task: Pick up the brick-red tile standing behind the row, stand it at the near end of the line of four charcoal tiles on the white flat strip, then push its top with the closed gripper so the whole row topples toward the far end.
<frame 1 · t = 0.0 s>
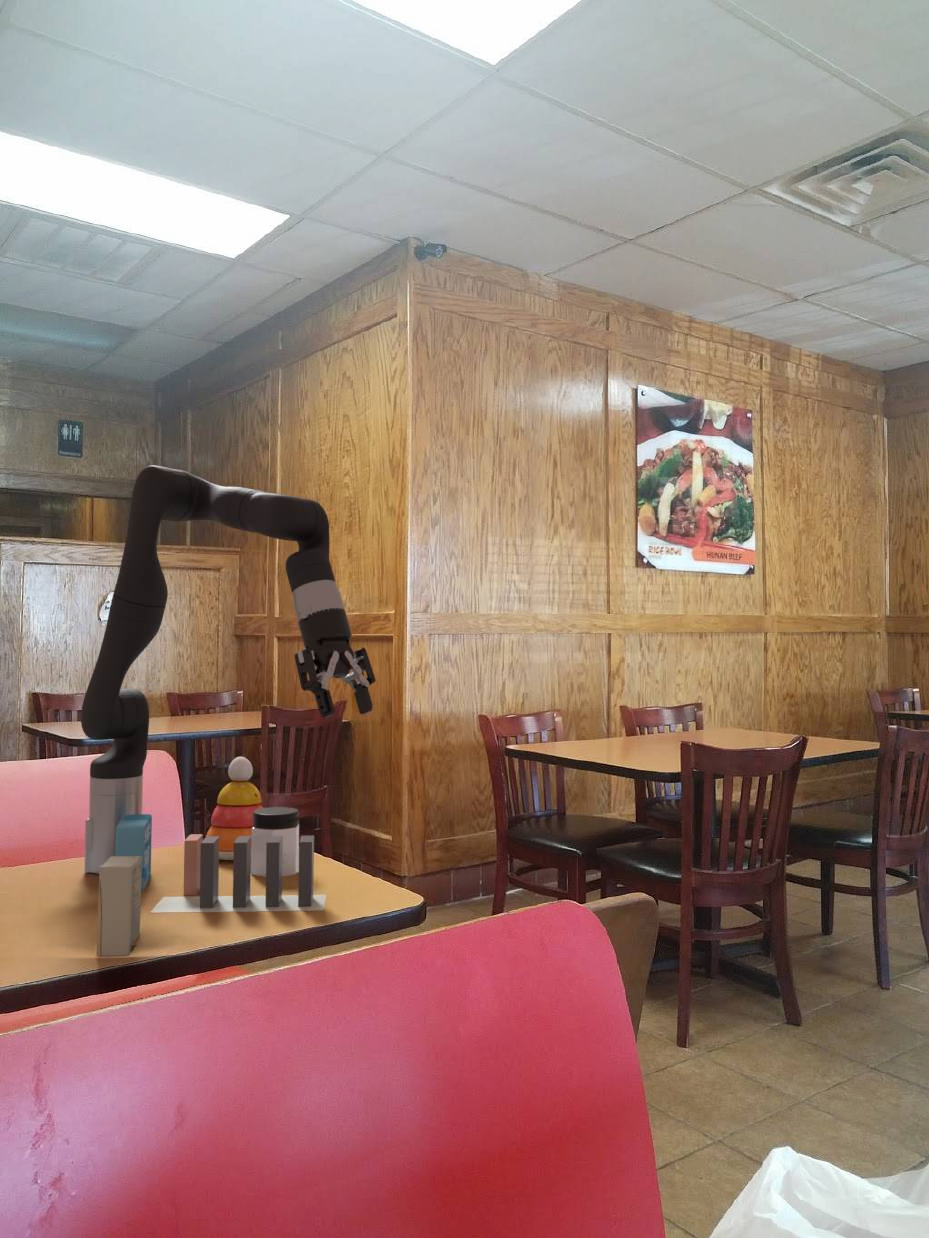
hand: (348, 714, 146), 31 cm above the table, tool tilted 20°, fingers open, 8 cm apart
brick tile: (192, 898, 158), on the table
white flat strip: (241, 910, 151), on the table
skincare box: (119, 951, 132), on the table
tile c: (241, 903, 151), point 1 cm above the table, touching white flat strip
tile b: (209, 903, 151), point 1 cm above the table, touching white flat strip
stacking toy: (238, 857, 189), on the table
tile d: (273, 902, 152), point 1 cm above the table, touching white flat strip
jar: (274, 879, 172), on the table
tile e: (305, 902, 152), point 1 cm above the table, touching white flat strip
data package: (133, 891, 163), on the table
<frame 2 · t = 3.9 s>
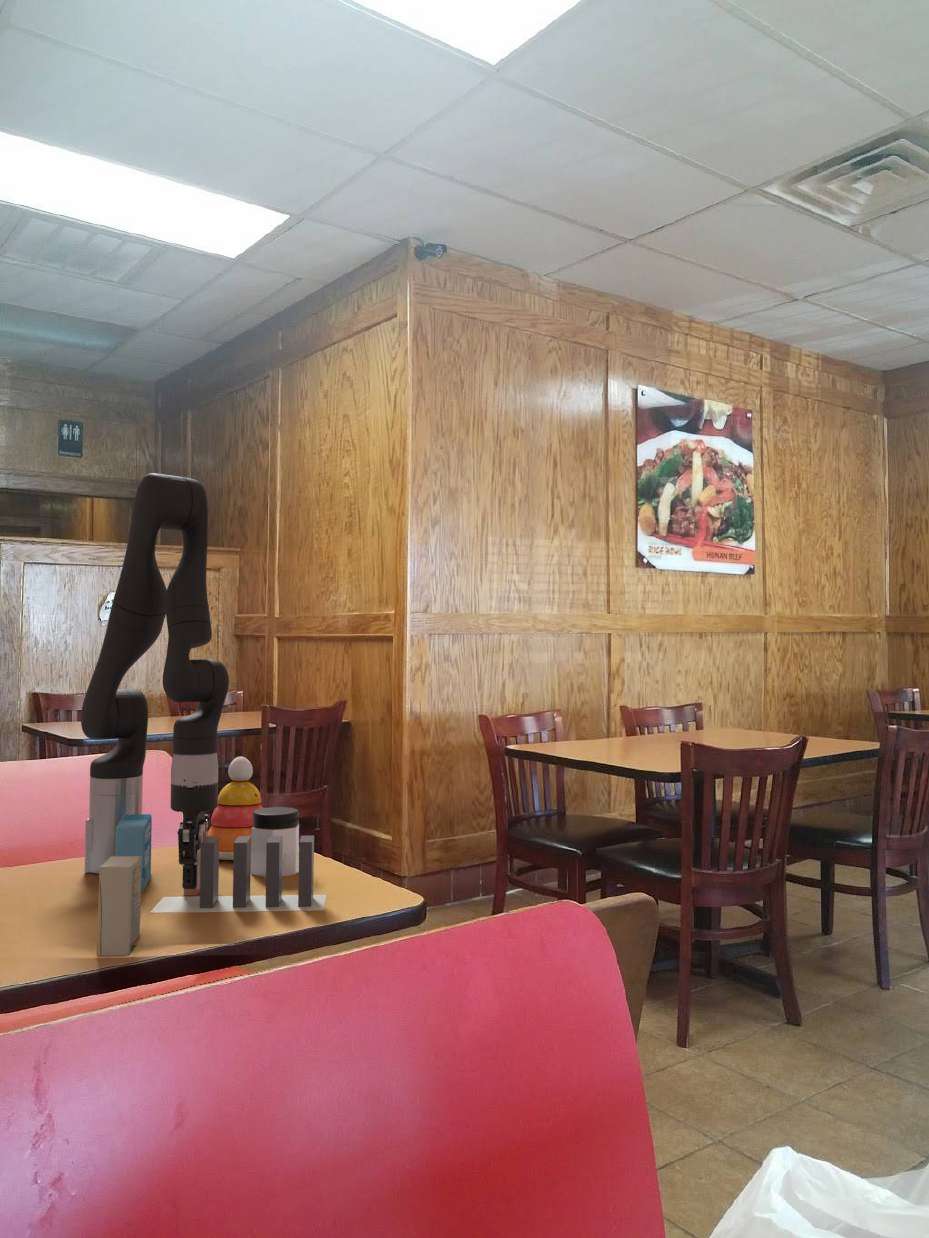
hand: (192, 883, 158), 2 cm above the table, tool pointing down, fingers closed on brick tile, 5 cm apart
brick tile: (192, 898, 158), on the table, touching gripper
everything else where it was.
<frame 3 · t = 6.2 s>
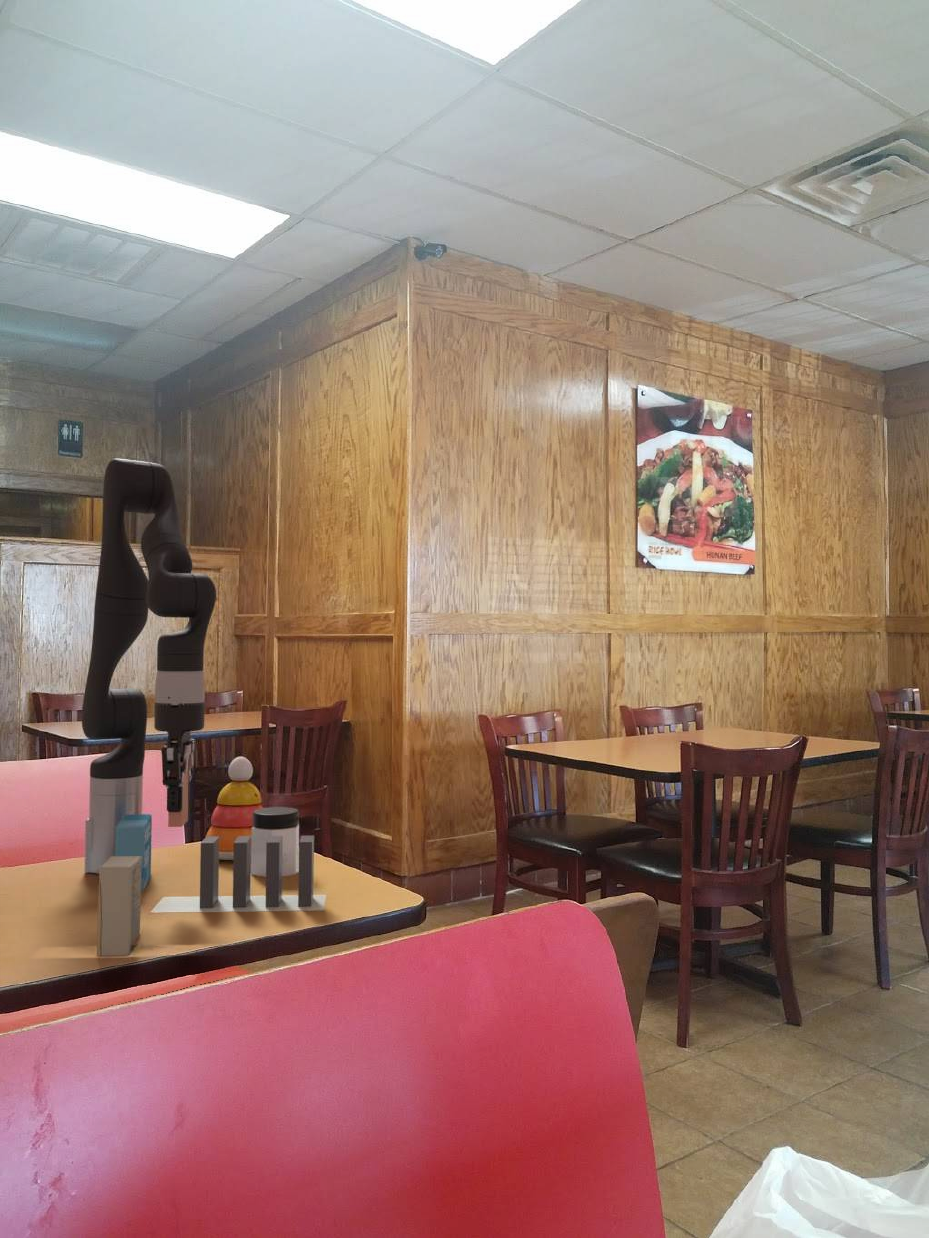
hand: (178, 808, 150), 16 cm above the table, tool pointing down, fingers closed on brick tile, 5 cm apart
brick tile: (178, 823, 150), point 14 cm above the table, touching gripper
everything else where it was.
when the fingers open (5 cm above the table, at t = 8.6 s): brick tile stays where it is, resting on white flat strip.
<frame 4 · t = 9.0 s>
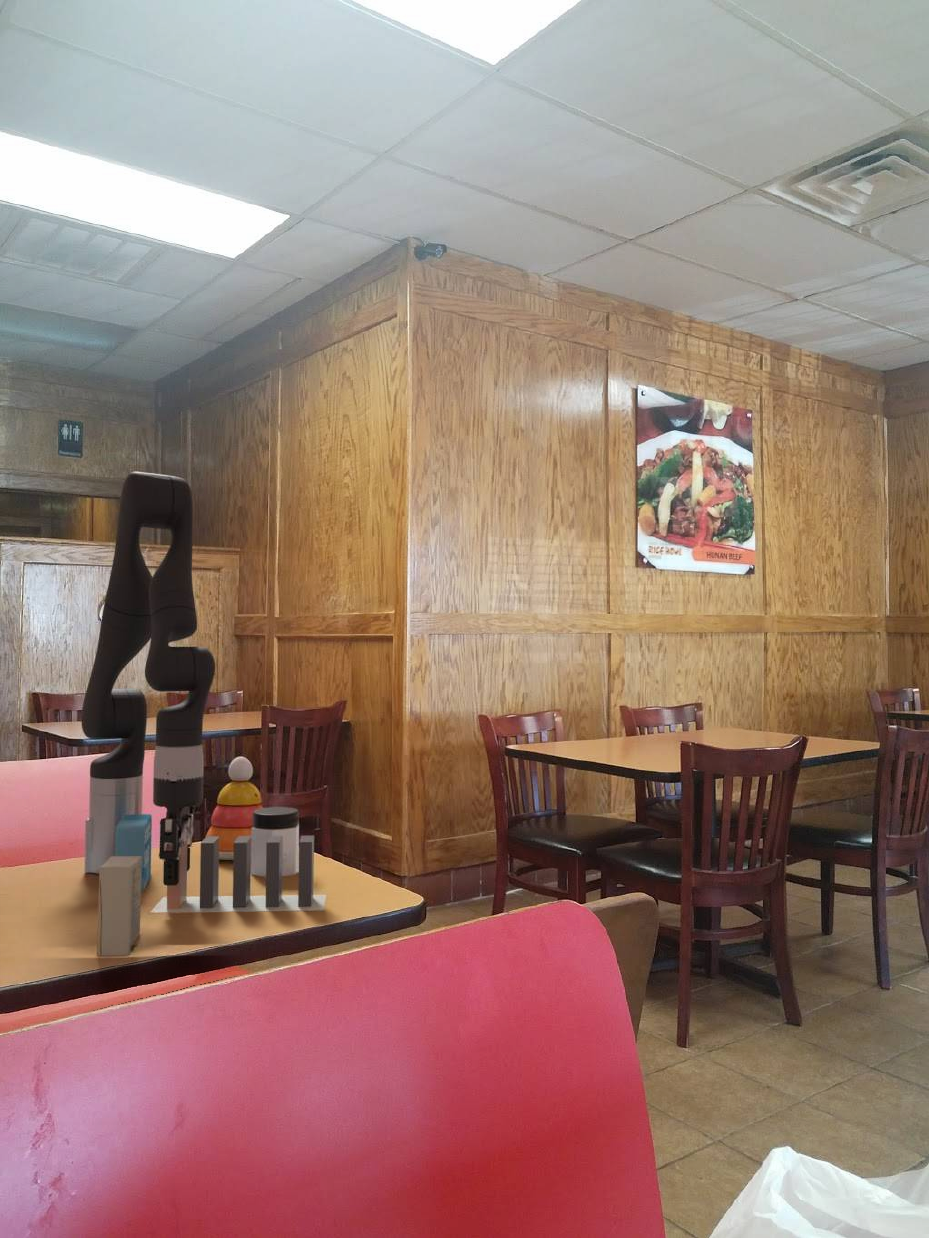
hand: (176, 877, 150), 5 cm above the table, tool pointing down, fingers open, 8 cm apart
brick tile: (176, 904, 150), point 1 cm above the table, touching white flat strip
everything else where it was.
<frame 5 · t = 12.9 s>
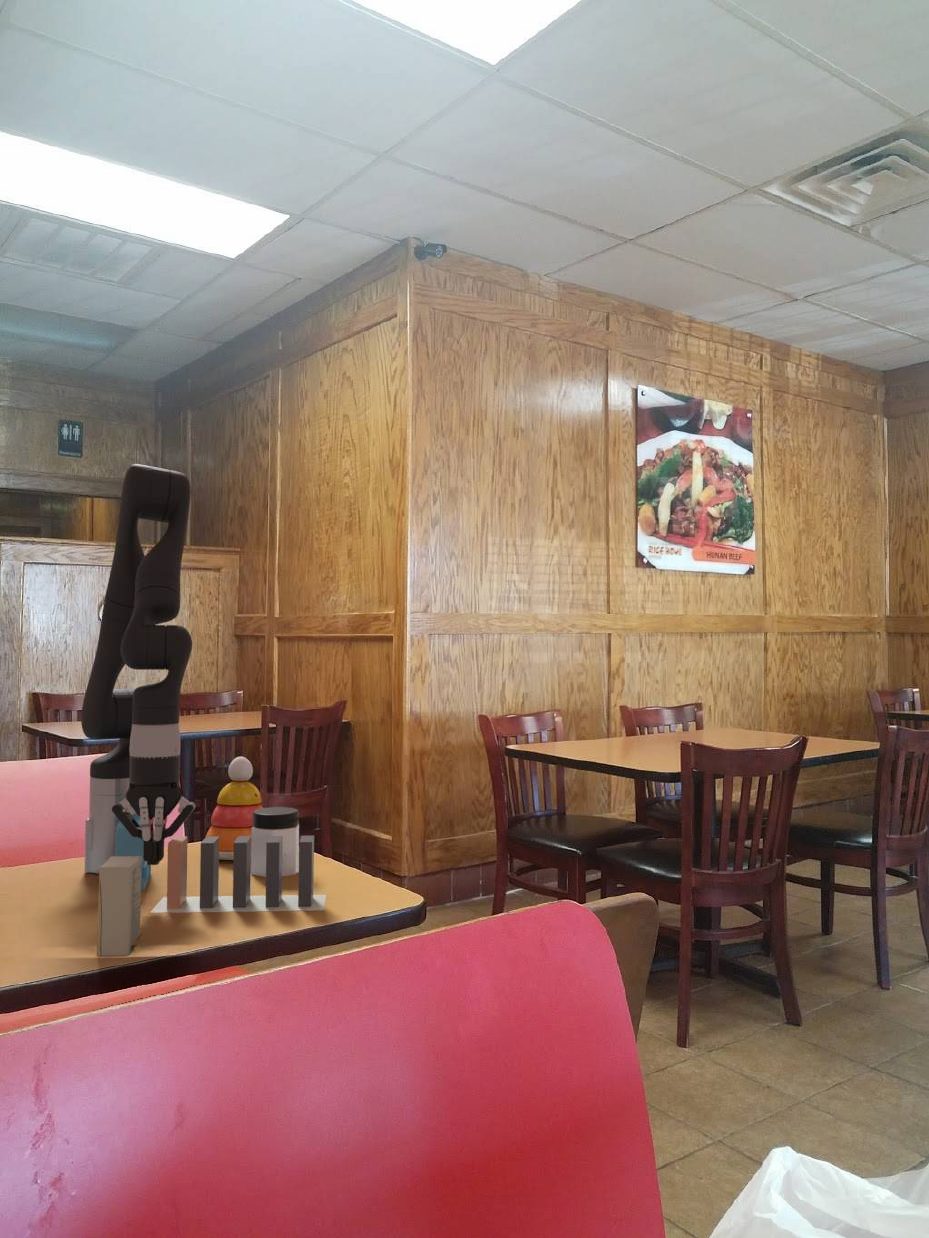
hand: (153, 863, 150), 8 cm above the table, tool pointing down, fingers closed
brick tile: (176, 904, 150), point 1 cm above the table, touching gripper, white flat strip
everything else where it was.
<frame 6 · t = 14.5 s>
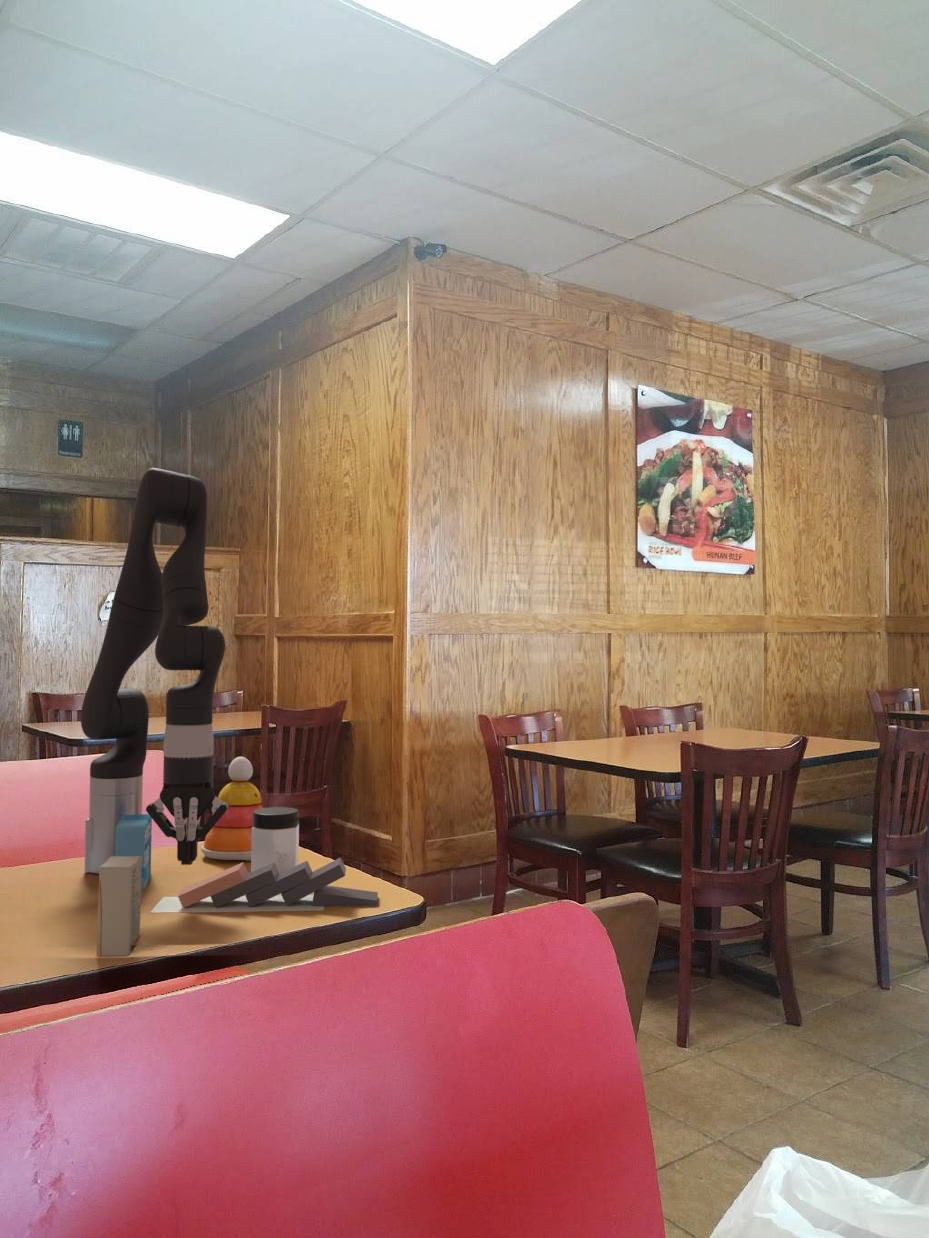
hand: (186, 863, 150), 8 cm above the table, tool pointing down, fingers closed
brick tile: (183, 897, 150), point 2 cm above the table, tilted 67°, touching tile b
tile c: (250, 897, 151), point 2 cm above the table, tilted 65°, touching white flat strip, tile b, tile d
tile b: (215, 897, 151), point 2 cm above the table, tilted 67°, touching brick tile, white flat strip, tile c
tile d: (285, 896, 152), point 2 cm above the table, tilted 63°, touching tile c, tile e
tile e: (314, 894, 152), point 2 cm above the table, tilted 99°, touching white flat strip, tile d
everything else where it was.
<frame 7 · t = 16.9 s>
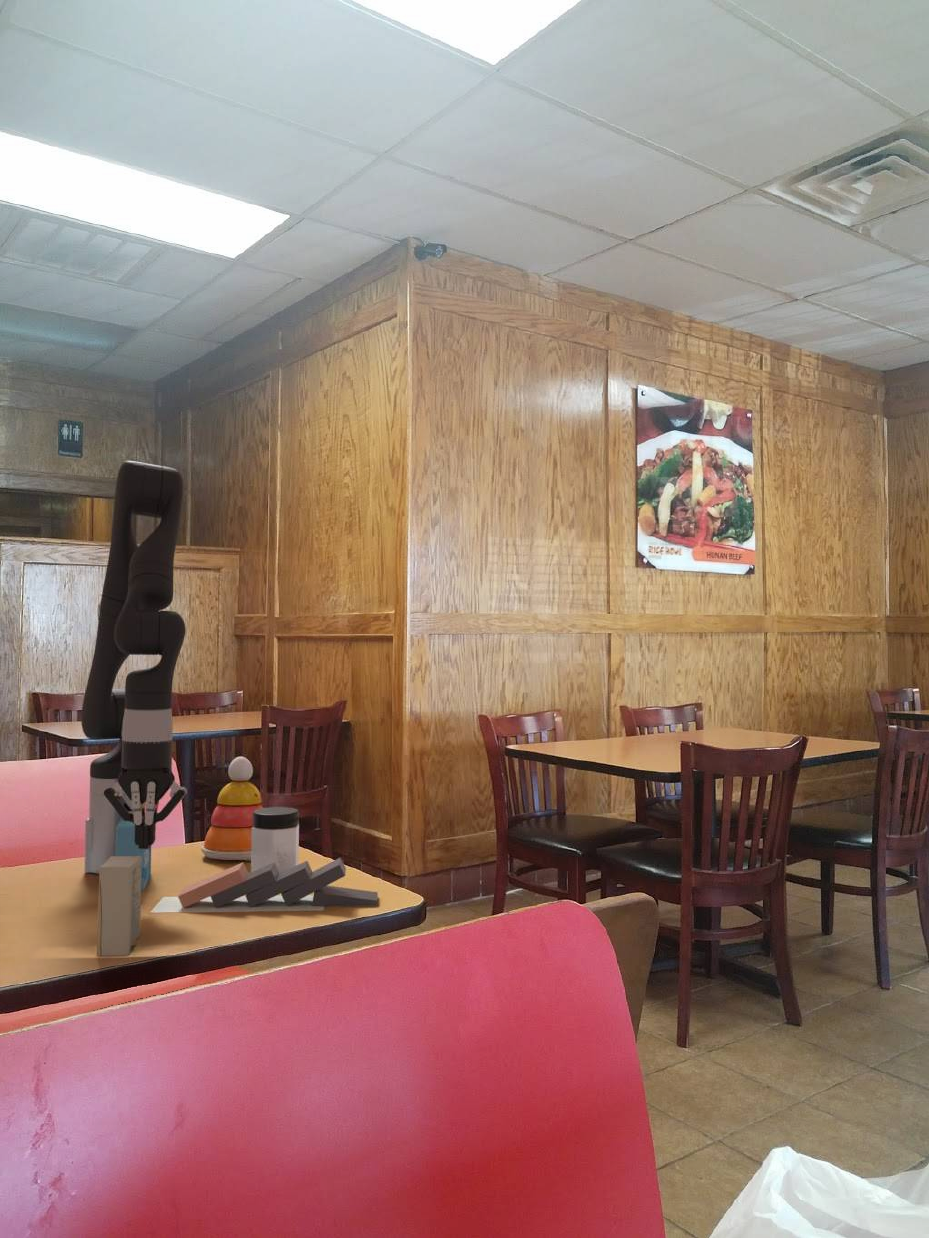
hand: (144, 847, 151), 10 cm above the table, tool pointing down, fingers closed
nothing on the table moved.
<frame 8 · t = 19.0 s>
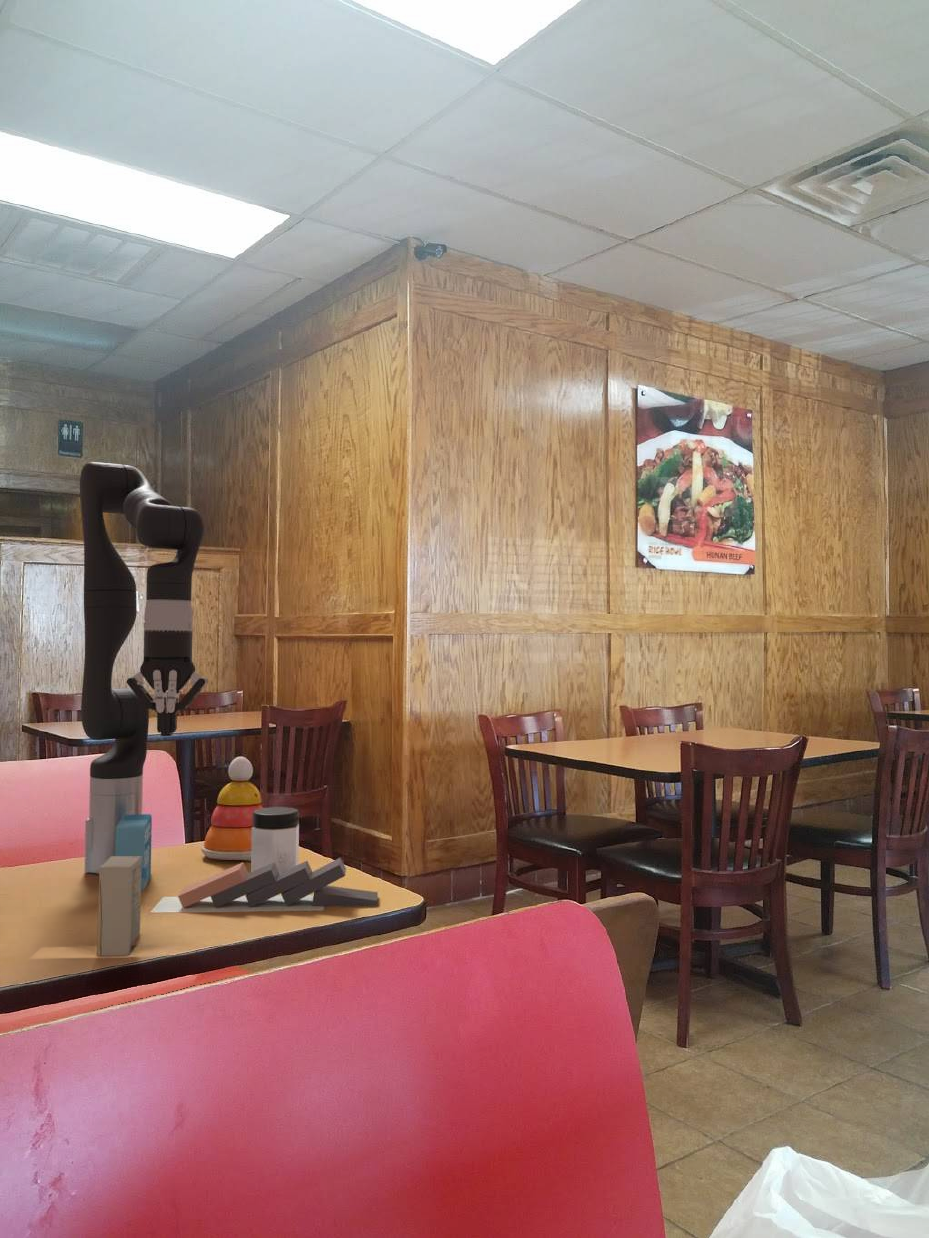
hand: (166, 735, 155), 27 cm above the table, tool pointing down, fingers closed
nothing on the table moved.
at the end: tile e tilted 99°; brick tile tilted 67°; brick tile inside the target area (0.1 cm from its centre), point 2.2 cm above the table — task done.
